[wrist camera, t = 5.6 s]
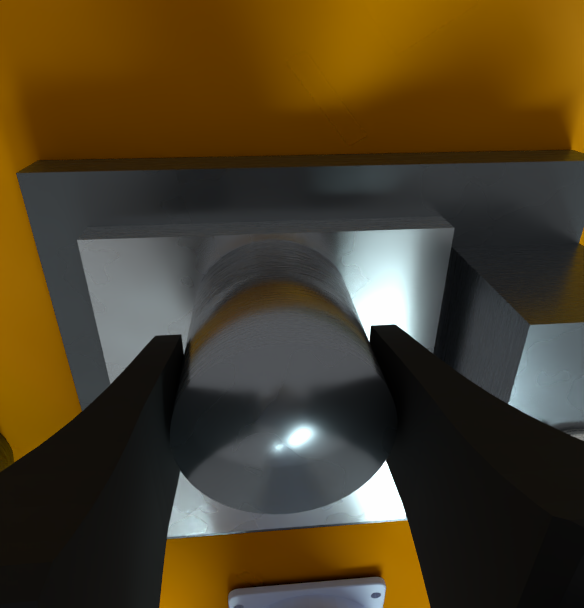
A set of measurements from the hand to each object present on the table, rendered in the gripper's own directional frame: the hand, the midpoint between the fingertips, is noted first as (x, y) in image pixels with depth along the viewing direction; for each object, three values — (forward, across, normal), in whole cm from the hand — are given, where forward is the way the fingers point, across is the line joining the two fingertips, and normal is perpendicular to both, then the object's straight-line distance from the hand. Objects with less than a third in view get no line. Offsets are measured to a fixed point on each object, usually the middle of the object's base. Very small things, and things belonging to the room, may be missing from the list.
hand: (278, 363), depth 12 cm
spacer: (+2, 0, 0) cm, 2 cm away
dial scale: (+5, -2, +4) cm, 6 cm away
